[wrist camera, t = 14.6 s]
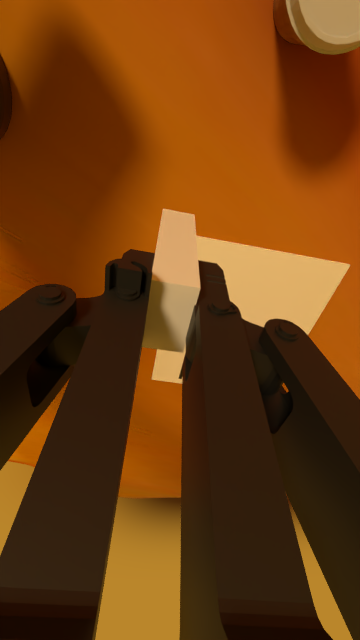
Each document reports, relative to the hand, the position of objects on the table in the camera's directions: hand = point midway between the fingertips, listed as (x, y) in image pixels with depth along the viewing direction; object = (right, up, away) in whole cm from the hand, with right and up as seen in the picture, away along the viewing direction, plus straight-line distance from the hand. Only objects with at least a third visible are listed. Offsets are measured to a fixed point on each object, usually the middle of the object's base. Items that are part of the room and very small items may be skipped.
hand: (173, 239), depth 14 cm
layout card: (+11, -6, +42) cm, 44 cm away
